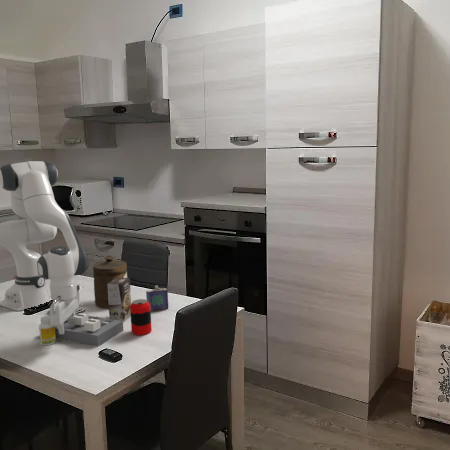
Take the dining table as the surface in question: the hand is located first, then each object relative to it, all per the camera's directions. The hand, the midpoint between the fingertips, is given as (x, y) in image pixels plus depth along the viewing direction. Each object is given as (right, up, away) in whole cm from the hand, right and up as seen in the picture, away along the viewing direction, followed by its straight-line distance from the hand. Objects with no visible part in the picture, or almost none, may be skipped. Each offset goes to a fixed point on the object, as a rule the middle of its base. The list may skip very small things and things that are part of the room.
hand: (66, 328), depth 178 cm
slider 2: (+9, -1, +1) cm, 9 cm away
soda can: (+26, -3, +9) cm, 28 cm away
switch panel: (+1, -4, +10) cm, 10 cm away
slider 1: (+3, 0, +7) cm, 8 cm away
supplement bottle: (-7, -6, +1) cm, 9 cm away
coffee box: (+15, -1, +24) cm, 28 cm away
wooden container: (+7, +2, +42) cm, 43 cm away
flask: (+29, +1, +33) cm, 43 cm away
